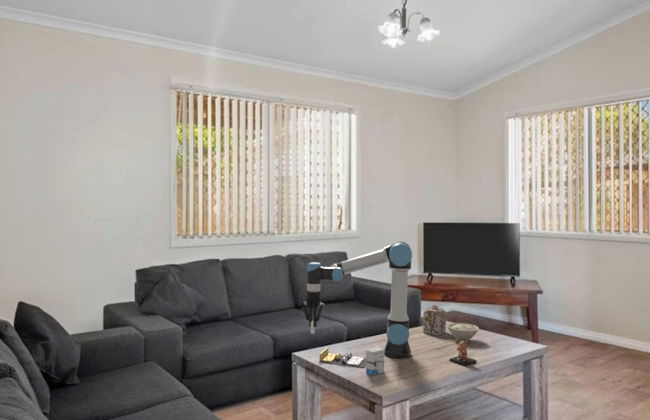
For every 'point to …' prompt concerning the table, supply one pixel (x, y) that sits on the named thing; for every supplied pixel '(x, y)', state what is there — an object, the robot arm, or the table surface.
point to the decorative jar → (434, 320)
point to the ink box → (374, 361)
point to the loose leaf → (329, 356)
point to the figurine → (462, 355)
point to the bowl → (462, 331)
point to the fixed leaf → (352, 360)
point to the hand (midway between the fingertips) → (312, 332)
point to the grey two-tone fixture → (346, 362)
